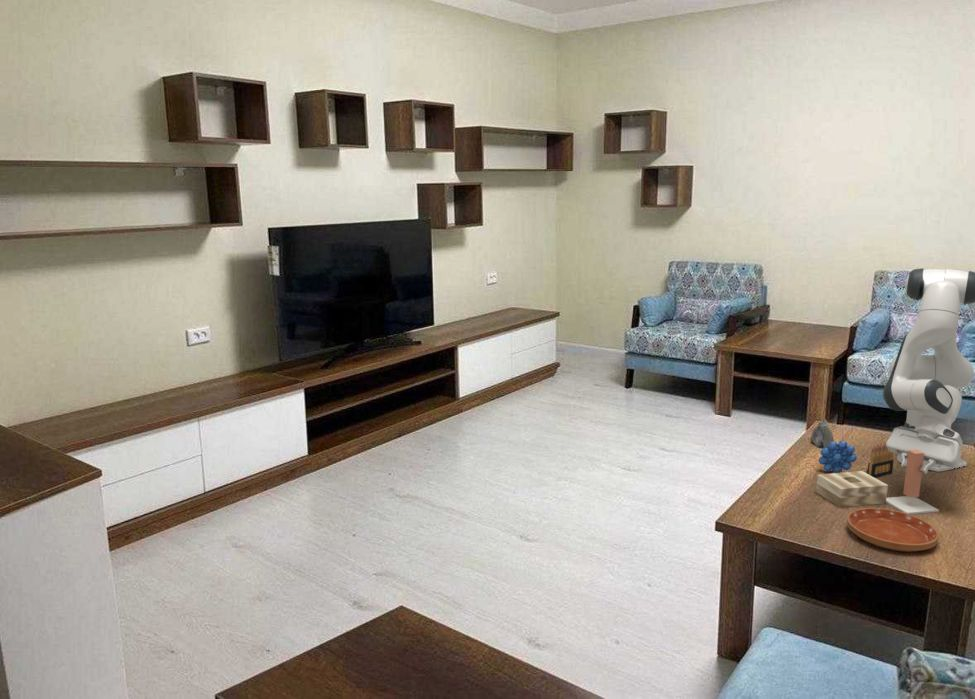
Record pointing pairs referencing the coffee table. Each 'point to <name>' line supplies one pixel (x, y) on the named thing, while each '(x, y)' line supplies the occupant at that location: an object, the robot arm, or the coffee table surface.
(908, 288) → the robot arm
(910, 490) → the wooden block
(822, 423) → the mineral rock
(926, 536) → the saucer
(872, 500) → the cream block with hole
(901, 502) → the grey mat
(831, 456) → the grapes
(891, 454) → the ammunition clip
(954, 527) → the coffee table surface
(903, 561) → the coffee table surface
